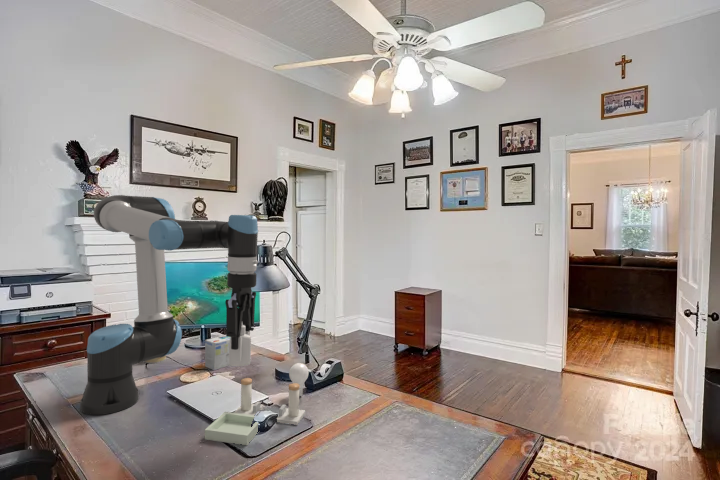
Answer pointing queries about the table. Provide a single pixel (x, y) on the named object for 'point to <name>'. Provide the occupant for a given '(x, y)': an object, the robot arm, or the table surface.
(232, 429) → the tray
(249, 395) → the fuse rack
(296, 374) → the lightbulb
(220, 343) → the light bulb box
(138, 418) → the table surface
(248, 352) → the eye dropper bottle
